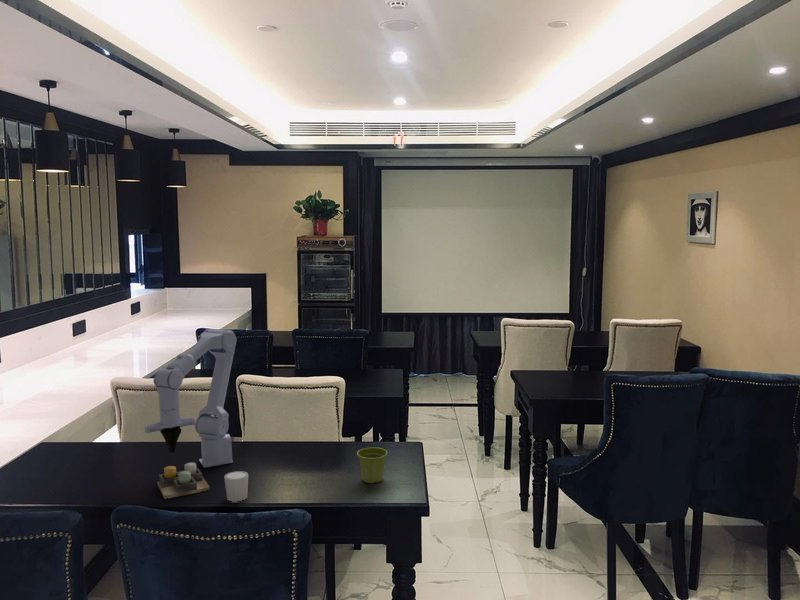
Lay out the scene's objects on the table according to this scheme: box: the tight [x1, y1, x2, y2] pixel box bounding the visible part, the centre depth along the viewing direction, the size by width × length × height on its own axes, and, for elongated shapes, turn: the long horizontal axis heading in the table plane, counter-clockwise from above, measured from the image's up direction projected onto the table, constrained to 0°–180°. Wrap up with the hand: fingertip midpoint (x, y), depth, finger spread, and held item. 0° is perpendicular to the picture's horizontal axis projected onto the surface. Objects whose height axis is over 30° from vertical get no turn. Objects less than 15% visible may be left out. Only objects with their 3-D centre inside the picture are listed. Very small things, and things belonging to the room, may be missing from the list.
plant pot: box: [356, 447, 388, 484], centre depth 211 cm, size 9×9×9 cm
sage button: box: [179, 470, 191, 485], centre depth 205 cm, size 3×3×3 cm
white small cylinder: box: [184, 462, 197, 475], centre depth 212 cm, size 3×3×3 cm
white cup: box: [223, 470, 249, 503], centre depth 199 cm, size 7×7×7 cm
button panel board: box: [156, 467, 211, 500], centre depth 208 cm, size 13×12×3 cm
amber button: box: [163, 465, 177, 479], centre depth 209 cm, size 3×3×3 cm
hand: (171, 451), depth 211 cm, fingers closed
